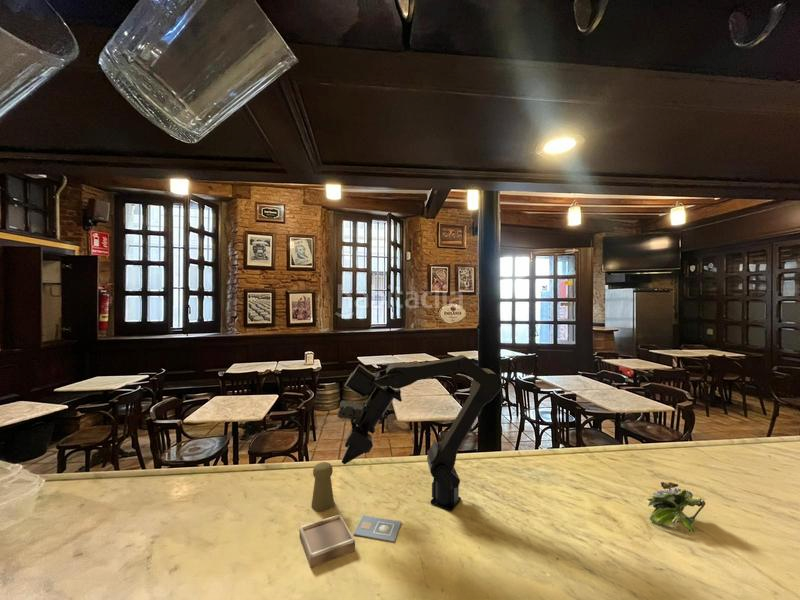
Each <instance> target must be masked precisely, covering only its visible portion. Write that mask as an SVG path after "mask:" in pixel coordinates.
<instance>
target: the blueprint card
mask: <svg viewBox="0 0 800 600" xmlns="http://www.w3.org/2000/svg"><path fill="white" fill-rule="evenodd" d="M401 525H402V521H400V520H393V519H389V518H382V517H375V516H370V515H362V517H361V519H360V520H359V523H358V525H357V527H356V528H355V531H354V532H353V534H352V536H355V537H361V538H367V539H373V540H378V541H384V542H389V543H395V541H396V539H397V536H398V533H399V530H400V528H401Z"/></svg>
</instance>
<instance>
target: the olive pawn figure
mask: <svg viewBox="0 0 800 600" xmlns="http://www.w3.org/2000/svg"><path fill="white" fill-rule="evenodd" d="M312 475H313V476H312V477H314V484H313V485H314V486H313V492H312V500H311V509H312V510H313V511H314V512H320V513H322V512H323V513H324V512H326V511H329V510H331V509H332V508H333V507H334V506H335V500H334V493H333V486H332V485H333V484H332V475H333V466H332V464H331V463H330V462H327V461H323V462H318V463H317V464H315V466H314V467H313V470H312Z"/></svg>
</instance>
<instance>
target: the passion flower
mask: <svg viewBox="0 0 800 600" xmlns="http://www.w3.org/2000/svg"><path fill="white" fill-rule="evenodd" d="M660 487H661V488H663V489H664V490H662V489H661V490H660V491H659V490H656V492H653V493H652V496H651V498H650V497H646V500H647V501H649V502H648V505H647V507H650V506H652V507H653V508H654V509H653V511H652V512H651V514H650V516H649V521H650V520H651V521H652V522H653V524H661V525H662V526H671V525H673V524H675V523H677V522H679V521H681V523H682V524H683V526H684V527H686V528H687V529H688V533H689V532H690V533H691V532H692V533H695V532H696V531H695V529H694V527H693V524H694V522H695V520H696V517H697V516H698V515H699V513H700V511H701V510H702V509H704V507H705V505H706V502H705V499H704V498H701V497H698V498H693V496H694V495H693V494H692V492H691V491H688V490H686V489H685V488H684V489H680V488H678V489H677V488H676V487H679V484H678V483H674V482H672V481H668V482H664V481H662V482H660ZM672 488H673V489H674V490H673V489H672ZM687 506H689V507H695V506H697V507H699V508H698V509H697V511H696V512H695V513H694V515H692V516H691V517H689V516H687V515H686V514H685V513H684V512H683V511H684V509H685V508H686V507H687ZM651 521H650V522H651Z"/></svg>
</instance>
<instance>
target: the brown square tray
mask: <svg viewBox="0 0 800 600" xmlns="http://www.w3.org/2000/svg"><path fill="white" fill-rule="evenodd" d="M299 540H300V543H301V545H302V548H303V551H304V554H305V557H306V560H307V561H308V565H309V568H313V567H316V566H318V565H321V564H324V563H327V562H329V561H332V560H335V559H338V558H340V557H342V556H345V555H347V554H350V553H354V552H355V551H356V541H355V538H354V535H353V534H352V532H351V530H350V529H349V527H348V526H347V523H346V522H345V519H344V518H343V517H342V515H341V513H339V514H337V515H333V516H330V517H327V518H323V519H321V520H317V521H314V522H311V523H307V524H304V525H302V526H299Z"/></svg>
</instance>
